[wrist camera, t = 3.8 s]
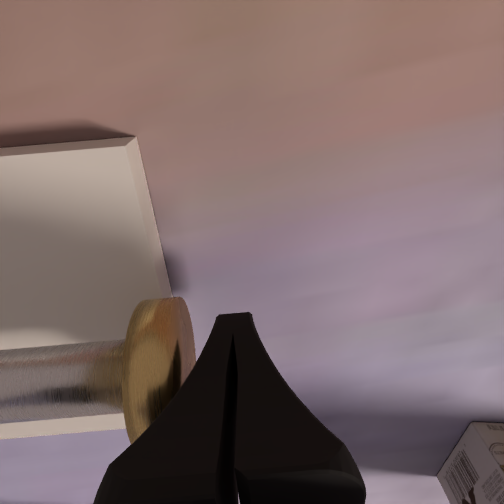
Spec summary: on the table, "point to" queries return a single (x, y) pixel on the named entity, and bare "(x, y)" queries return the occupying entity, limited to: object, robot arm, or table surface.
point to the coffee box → (476, 466)
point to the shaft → (104, 371)
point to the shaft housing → (74, 253)
